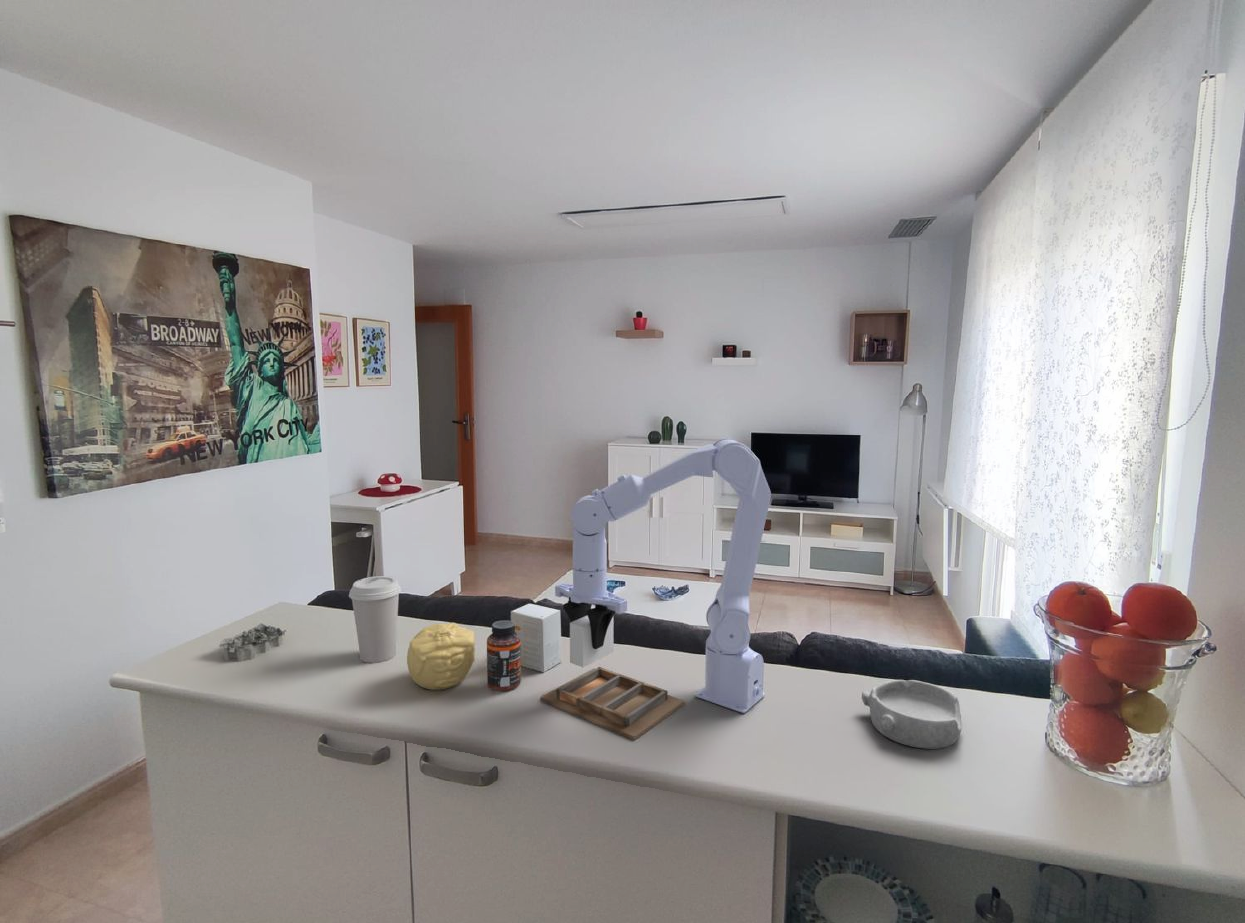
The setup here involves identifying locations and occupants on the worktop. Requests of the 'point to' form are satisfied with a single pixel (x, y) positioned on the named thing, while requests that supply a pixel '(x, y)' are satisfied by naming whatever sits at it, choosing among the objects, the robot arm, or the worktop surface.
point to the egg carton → (252, 642)
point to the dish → (915, 713)
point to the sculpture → (441, 656)
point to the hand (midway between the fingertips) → (590, 644)
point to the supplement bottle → (503, 657)
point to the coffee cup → (376, 617)
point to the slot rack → (614, 701)
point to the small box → (538, 636)
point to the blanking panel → (587, 643)
